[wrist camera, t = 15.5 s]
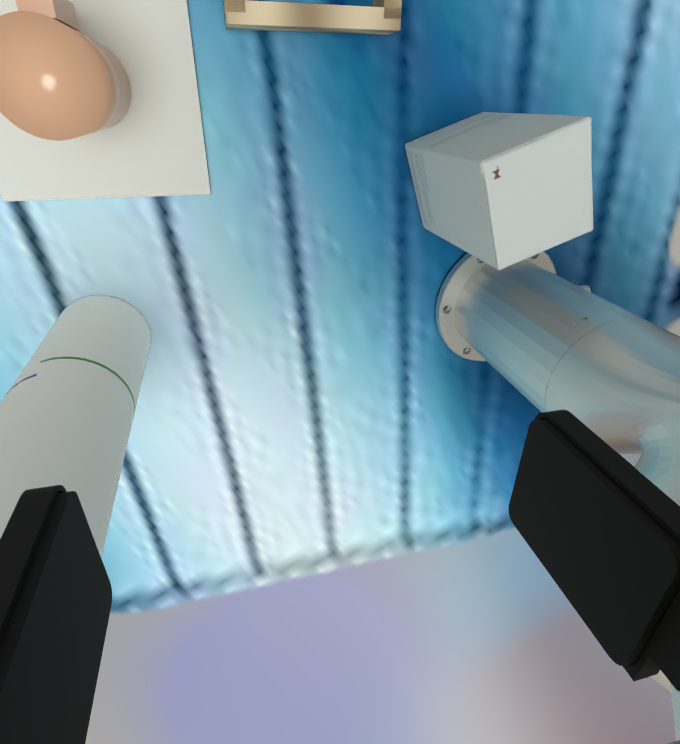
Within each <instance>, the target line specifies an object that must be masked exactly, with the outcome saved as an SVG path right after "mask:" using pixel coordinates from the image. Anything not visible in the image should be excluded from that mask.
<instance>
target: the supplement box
mask: <svg viewBox="0 0 680 744" xmlns="http://www.w3.org/2000/svg"><path fill="white" fill-rule="evenodd" d="M405 149H406V153H407V158H408V162H409V167H410V171H411V176H412V180H413V184H414V189H415V193H416V198H417V202H418V207H419V211H420V216H421V220H422V224H423V227H424V228H425V229H427V230H429V231H430V232H432V233H434V234H436V235H437V236H439V237H441V238H443V239H445V240H446V241H448V242H450V243H452V244H453V245H455V246H457V247H459V248H461V249H462V250H464V251H466V252H468V253H469V254H471V255H473V256H475V257H476V258H478V259H480V260H482V261H484V262H485V263H487V264H489V265H491V266H492V267H494V268H496V269H497V270H501V269H503V268H506V267H508V266H510V265H513V264H515V263H517V262H519V261H522V260H524V259H527V258H529V257H531V256H534V255H536V254H538V253H541V252H543V251H545V250H548V249H550V248H552V247H555V246H557V245H559V244H562V243H564V242H566V241H569V240H571V239H574V238H576V237H578V236H581V235H583V234H585V233H588V232H590V231H592V230H593V199H592V119H591V117H588V116H573V115H549V114H519V113H496V112H481V113H479V114H476V115H474V116H471V117H468V118H466V119H463V120H461V121H459V122H456V123H454V124H451V125H449V126H446V127H444V128H442V129H439V130H437V131H434V132H432V133H430V134H427V135H425V136H422V137H420V138H418V139H415V140H413V141H410V142H408V143H406V144H405Z"/></svg>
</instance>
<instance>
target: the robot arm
mask: <svg viewBox="0 0 680 744" xmlns="http://www.w3.org/2000/svg"><path fill="white" fill-rule="evenodd" d="M435 313H436V324H437V328H438V332H439V334H440V336H441V338H442V340H443V341H444V342H445V343H446V344H447V346H448V347H449V348H450V349H451V350H452V351H454V352H455V353H456V354H457V355H459V356H461V357H463V358H466V359H469V360H473V361H487V362H488V363H489V364H490V365H491V366H493V367H494V368H495V369H496V370H497V371H498V372H499V373H500V374H501V375H502V376H503V377H504V378H505V379H506V380H508V381H509V382H510V383H511V384H512V385H513V386H514V387H515V388H516V389H517V390H518V391H519V392H520V393H521V394H522V395H524V396H525V397H526V398H527V399H528V400H529V401H530V402H531V403H532V404H533V405H534V406H535V407H536V408H537V409H539V410H540V411H541V412H542V413H539V414H538V415H537V416H536V418H535V420H534V421H532V422H531V423H530V426H529V429H528V433H527V437H526V441H525V445H524V449H523V453H522V457H521V460H520V464H519V468H518V472H517V476H516V480H515V484H514V488H513V492H512V496H511V500H510V504H509V515H510V518H511V521H512V522H513V524H514V525H515V527H516V528H517V530H518V531H519V532H520V534H521V535H522V536H523V538H524V539H525V541H526V542H527V543H528V545H529V546H530V548H531V549H532V550H533V552H534V553H535V554H536V556H537V557H538V558H539V560H540V561H541V563H542V564H543V565H544V567H545V568H546V570H547V571H548V572H549V574H550V575H551V577H552V578H553V579H554V581H555V582H556V583H557V585H558V586H559V588H560V589H561V590H562V592H563V593H564V595H565V596H566V597H567V599H568V600H569V601H570V603H571V604H572V606H573V607H574V608H575V610H576V611H577V612H578V614H579V615H580V617H581V618H582V619H583V621H584V622H585V624H586V625H587V626H588V628H589V629H590V631H591V632H592V633H593V635H594V636H595V637H596V639H597V640H598V642H599V643H600V644H601V646H602V647H603V649H604V650H605V651H606V653H607V654H608V655H609V657H610V658H611V659H612V660H613V661H614V662H615V663H616V664H618V665H620V666H623V667H624V668H625V670H626V671H627V672H628V674H629V675H630V677H631V678H632V679H633V681H636V680H640V679H643V678H646V677H648V678H649V679H651V680H652V681H654V682H655V683H656V684H657V685H659V686H660V687H662V688H663V689H664V690H666V691H667V692H668V693H670V694H671V697H672V706H673V716H674V725H675V735H676V741H675V742H672V743H670V744H680V336H677V335H675V334H673V333H671V332H669V331H667V330H665V329H663V328H661V327H659V326H657V325H655V324H653V323H651V322H649V321H647V320H645V319H643V318H641V317H639V316H637V315H635V314H633V313H631V312H629V311H627V310H625V309H623V308H621V307H619V306H617V305H615V304H613V303H611V302H609V301H607V300H605V299H603V298H601V297H599V296H597V295H595V294H593V293H591V290H590V287H589V286H588V285H580V286H577V285H575V284H573V283H571V282H569V281H567V280H565V279H563V278H561V277H559V276H557V275H556V271H555V268H554V264H553V263H552V261H551V259H550V257H549V256H548V255H547V254H546V253H545V252H544V251H543V252H541V253H538V254H536V255H534V256H531V257H529V258H527V259H524V260H522V261H519V262H517V263H515V264H513V265H510V266H508V267H506V268H503V269H501V270H497V269H496V268H494V267H492V266H491V265H489V264H487V263H485V262H484V261H482V260H480V259H478V258H476V257H475V256H473V255H471V254H469V253H467V254H466V255H465V256H464V257H462V258H461V259H460V260H459V261H458V262H457V263H456V264H455V266H454V267H453V268H452V270H451V271H450V272H449V273H448V275H447V277H446V279H445V280H444V282H443V284H442V286H441V289H440V292H439V295H438V297H437V303H436V309H435ZM618 453H623V454H641V457H640V459H639V461H638V462H637V464H636V465H635V467H633V466H632V465H631V464H630V463H629V462H628V461H627V460H625V459H624V458H623V457H622V456H621V455H619V454H618ZM111 603H112V589H111V584H110V581H109V578H108V576H107V573H106V570H105V567H104V565H103V562H102V559H101V557H100V554H99V551H98V549H97V546H96V543H95V540H94V538H93V535H92V532H91V530H90V527H89V524H88V522H87V519H86V516H85V513H84V511H83V508H82V505H81V503H80V500H79V497H78V495H77V493H76V492H75V491H69V492H67V491H66V489H65V487H63V486H62V485H55V486H48V487H42V488H35V489H28V490H25V491H24V492H23V493H22V494H21V496H20V498H19V500H18V502H17V504H16V507H15V509H14V511H13V513H12V515H11V517H10V519H9V521H8V524H7V526H6V528H5V530H4V532H3V534H2V536H1V538H0V744H85V741H86V736H87V731H88V725H89V720H90V715H91V709H92V704H93V699H94V693H95V688H96V683H97V677H98V672H99V667H100V661H101V656H102V651H103V645H104V641H105V635H106V629H107V625H108V619H109V614H110V609H111Z"/></svg>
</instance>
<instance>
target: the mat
mask: <svg viewBox="0 0 680 744" xmlns="http://www.w3.org/2000/svg"><path fill="white" fill-rule="evenodd" d="M69 1H70V2H71V3H73V4H74V7H75V11H76V16H77V20H78V25H79V29H80V31H78V32H80V33H81V34H83V35H85V36H87V37H89V38H91V39H93V40H95V41H97V42H98V43H100V44H102V45H103V46H105V47H106V48H107V49H109V50H110V51H111V52H112V53H113V54H114V55H115V56H116V57H117V59H118V60H119V61H120V63H121V64H122V66H123V67H124V69H125V71H126V73H127V76H128V79H129V83H130V88H131V101H130V106H129V109H128V111H127V113H126V115H125V117H124V118H123V119H122V120H121V121H120V122H119V123H118V124H116V125H115V126H113V127H110V128H108V129H104V130H101V131H97V132H94V133H90V134H87V135H84V136H80V137H77V138H73V139H69V140H61V141H56V140H47V139H42V138H39V137H36V136H33V135H31V134H29V133H27V132H25V131H23V130H21V129H20V128H18V127H17V126H15V125H14V124H13V123H11V122H10V121H9V120H8V119H7V118H6V117H5V116H4V115H3V114H2V113H1V112H0V194H1V197H2V200H3V201H30V200H60V199H89V198H118V197H147V196H177V195H206V194H211V192H210V184H209V176H208V168H207V160H206V152H205V144H204V136H203V128H202V120H201V112H200V104H199V96H198V87H197V79H196V71H195V63H194V55H193V47H192V39H191V31H190V23H189V15H188V7H187V0H69ZM14 11H18V8H17V5H16V1H15V0H0V16H1V15H3V14H6V13H9V12H14Z"/></svg>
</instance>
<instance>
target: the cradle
mask: <svg viewBox="0 0 680 744" xmlns="http://www.w3.org/2000/svg"><path fill="white" fill-rule="evenodd" d="M223 4H224V15H225V26H226V29H245V30H272V31H299V32H325V33H352V34H379V35H389V34H392V33H395V32H397V31H400V24H401V7H402V0H373V7H367V6H347V5H327V4H307V3H287V2H267V1H247V0H223Z"/></svg>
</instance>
